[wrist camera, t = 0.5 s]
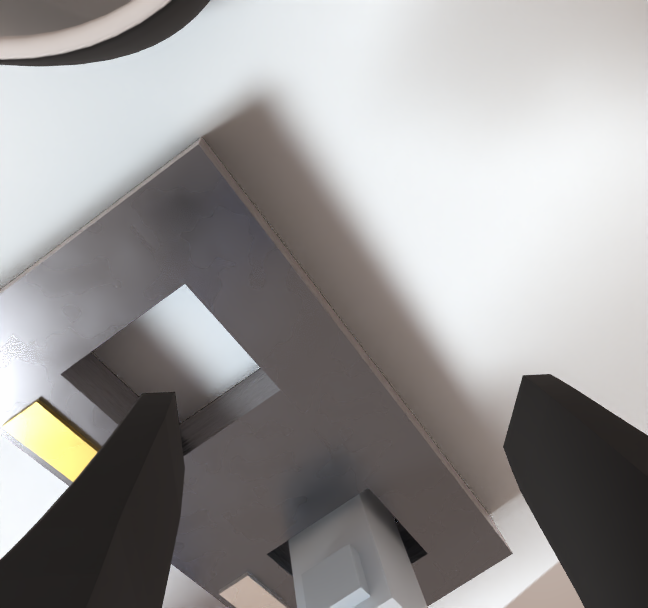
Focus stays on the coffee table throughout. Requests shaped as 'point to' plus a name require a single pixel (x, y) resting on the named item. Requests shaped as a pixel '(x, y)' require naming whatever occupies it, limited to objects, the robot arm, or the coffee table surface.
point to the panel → (231, 391)
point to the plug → (354, 560)
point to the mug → (87, 28)
